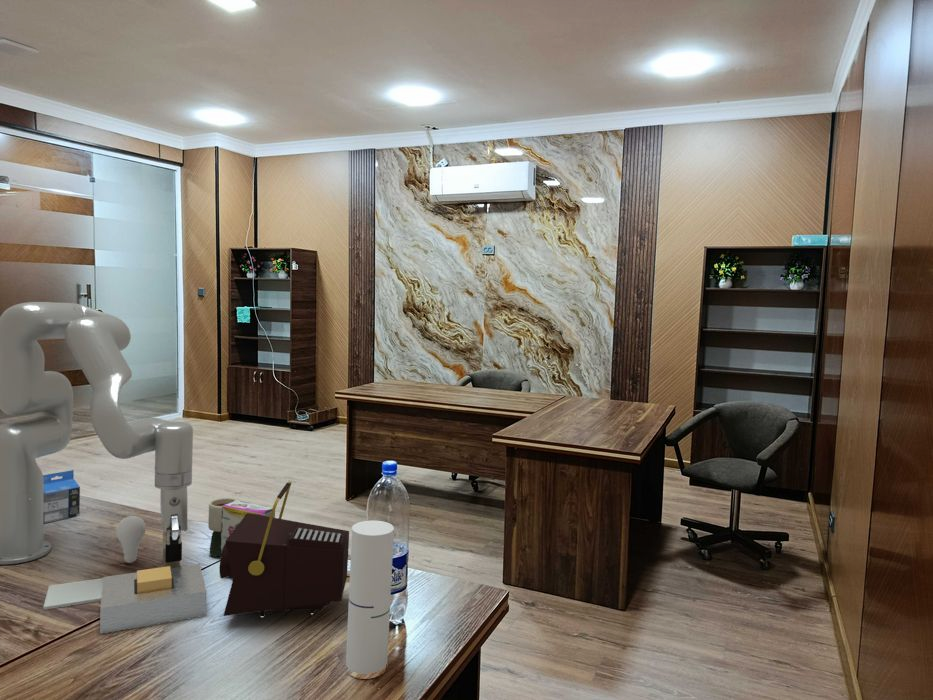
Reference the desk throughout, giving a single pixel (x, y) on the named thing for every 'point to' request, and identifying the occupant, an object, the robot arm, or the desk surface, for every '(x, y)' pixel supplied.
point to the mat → (73, 593)
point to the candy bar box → (238, 516)
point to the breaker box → (151, 600)
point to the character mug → (216, 523)
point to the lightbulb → (130, 536)
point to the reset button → (154, 580)
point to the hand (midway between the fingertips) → (172, 552)
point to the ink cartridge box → (60, 497)
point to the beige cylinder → (171, 564)
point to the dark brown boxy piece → (283, 564)
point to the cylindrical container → (369, 596)
